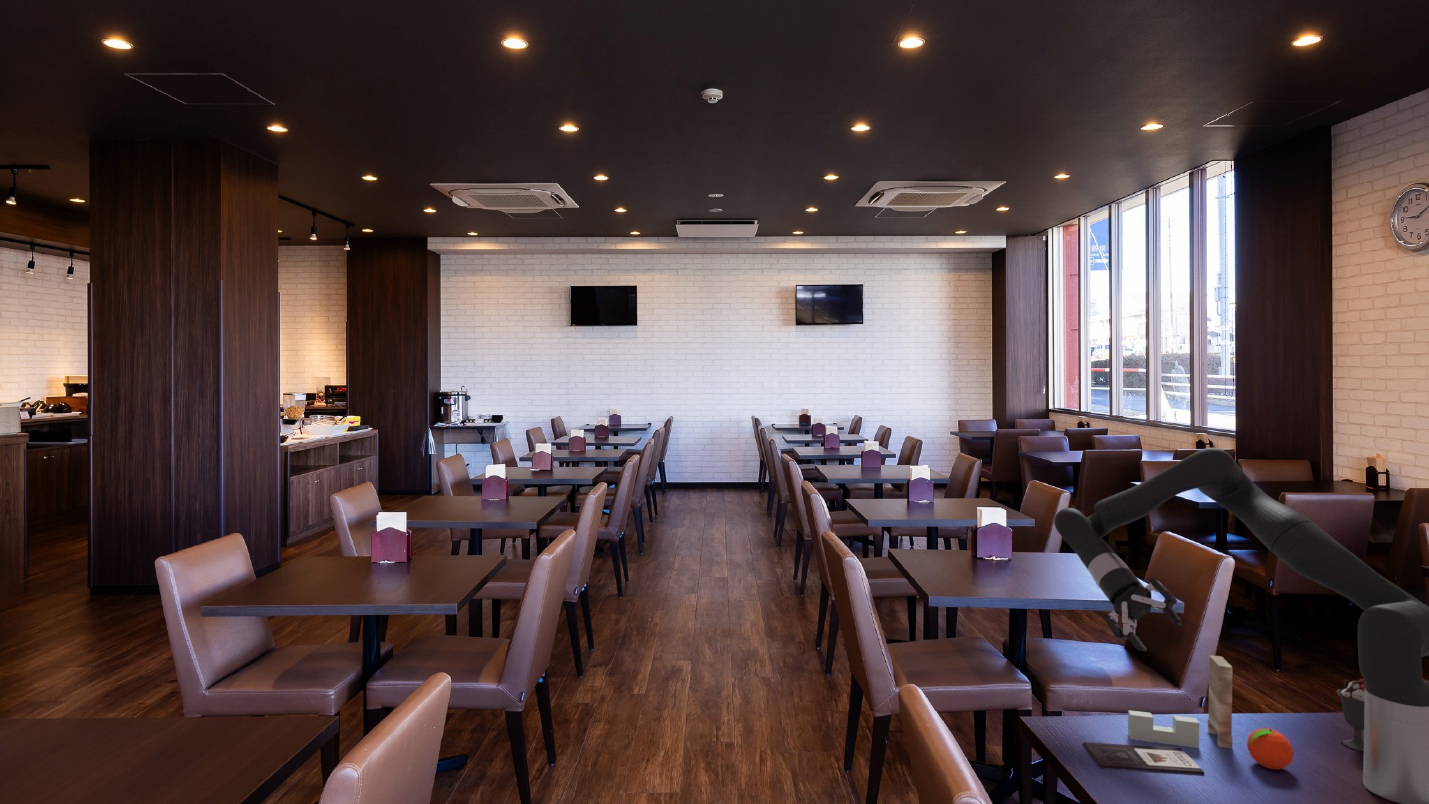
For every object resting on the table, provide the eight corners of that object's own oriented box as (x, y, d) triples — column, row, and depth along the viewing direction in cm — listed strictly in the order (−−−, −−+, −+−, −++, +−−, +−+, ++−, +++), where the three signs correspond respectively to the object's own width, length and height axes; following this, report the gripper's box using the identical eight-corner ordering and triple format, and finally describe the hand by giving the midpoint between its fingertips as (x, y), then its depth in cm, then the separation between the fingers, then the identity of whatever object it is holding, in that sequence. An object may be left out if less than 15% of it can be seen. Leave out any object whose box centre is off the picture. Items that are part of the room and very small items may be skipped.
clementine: (1266, 779, 133) (1267, 740, 133) (1232, 760, 140) (1233, 723, 140) (1303, 774, 135) (1303, 736, 135) (1267, 755, 142) (1268, 719, 141)
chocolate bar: (1083, 742, 146) (1180, 747, 144) (1083, 746, 146) (1180, 752, 144) (1100, 765, 137) (1204, 772, 135) (1100, 770, 137) (1204, 777, 135)
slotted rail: (1195, 742, 147) (1195, 718, 147) (1199, 748, 145) (1199, 723, 144) (1128, 734, 150) (1128, 710, 150) (1130, 739, 148) (1130, 714, 148)
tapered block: (1219, 732, 151) (1220, 655, 151) (1232, 748, 144) (1233, 668, 144) (1207, 731, 152) (1208, 654, 151) (1219, 747, 145) (1220, 666, 145)
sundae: (1377, 758, 140) (1379, 680, 140) (1332, 745, 145) (1333, 670, 145) (1383, 747, 145) (1384, 671, 144) (1339, 734, 150) (1340, 662, 149)
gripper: (1149, 564, 162) (1199, 622, 149) (1098, 603, 168) (1142, 663, 154) (1131, 552, 159) (1180, 611, 146) (1079, 592, 164) (1122, 652, 151)
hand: (1160, 637), depth 150 cm, fingers open, 8 cm apart
